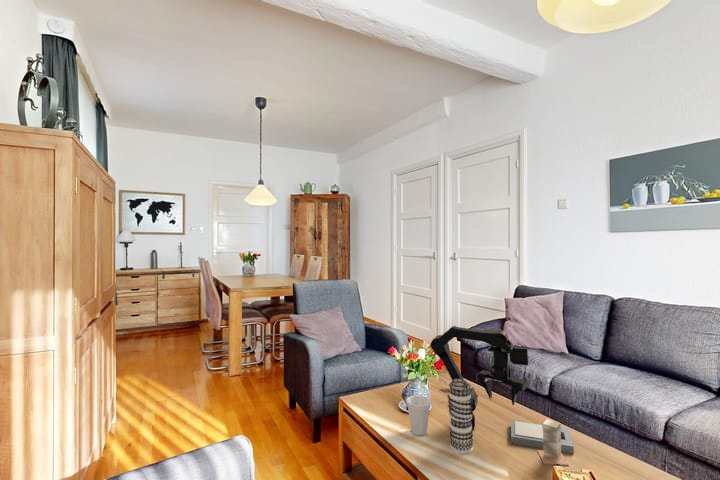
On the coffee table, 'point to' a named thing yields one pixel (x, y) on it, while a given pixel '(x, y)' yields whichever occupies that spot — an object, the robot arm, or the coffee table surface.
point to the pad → (547, 461)
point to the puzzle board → (537, 435)
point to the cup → (418, 413)
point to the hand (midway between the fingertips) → (501, 401)
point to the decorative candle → (460, 416)
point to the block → (552, 440)
